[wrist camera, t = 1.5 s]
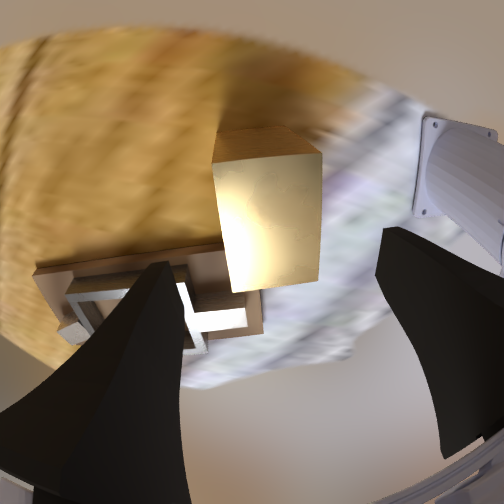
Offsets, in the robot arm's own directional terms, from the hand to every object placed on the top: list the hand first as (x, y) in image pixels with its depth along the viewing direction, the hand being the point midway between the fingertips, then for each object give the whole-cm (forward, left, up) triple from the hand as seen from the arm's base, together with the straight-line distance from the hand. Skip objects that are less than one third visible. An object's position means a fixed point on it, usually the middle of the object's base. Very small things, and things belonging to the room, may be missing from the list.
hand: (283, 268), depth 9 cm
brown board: (+10, +9, -10) cm, 16 cm away
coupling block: (0, 0, -10) cm, 10 cm away
